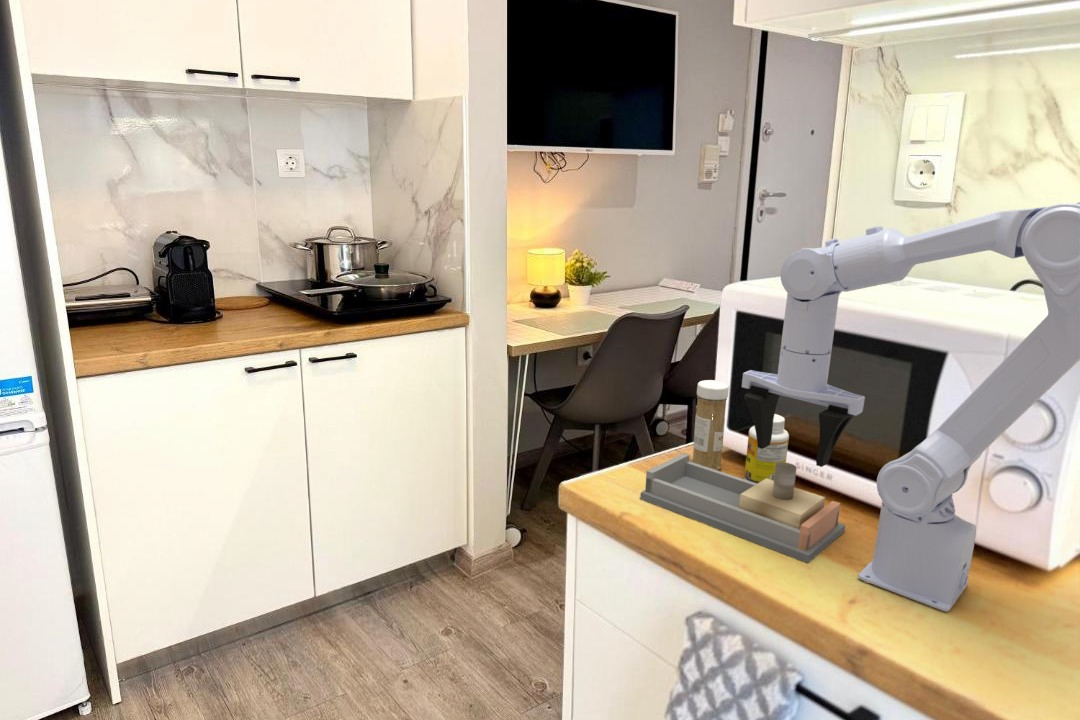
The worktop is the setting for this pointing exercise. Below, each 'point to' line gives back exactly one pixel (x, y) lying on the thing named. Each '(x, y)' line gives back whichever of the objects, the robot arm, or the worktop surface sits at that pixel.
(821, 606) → the worktop surface
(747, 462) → the supplement bottle
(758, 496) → the beige knobbed block
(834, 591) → the worktop surface
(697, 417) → the brown spice jar
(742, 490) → the tray
